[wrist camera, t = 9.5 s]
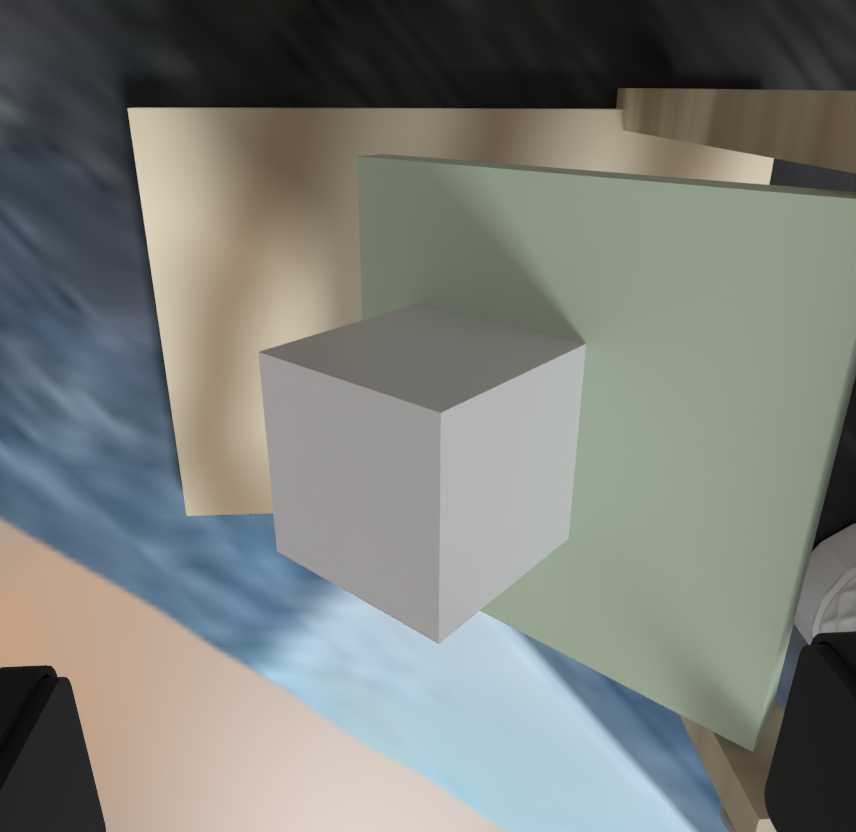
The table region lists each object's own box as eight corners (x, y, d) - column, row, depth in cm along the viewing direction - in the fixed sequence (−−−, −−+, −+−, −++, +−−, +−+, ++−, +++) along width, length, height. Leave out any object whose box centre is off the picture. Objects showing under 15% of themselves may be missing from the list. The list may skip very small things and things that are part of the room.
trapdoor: (1538, 221, 10) (1747, 288, 7) (1183, 820, 15) (1201, 1036, 12) (454, 147, 22) (327, 159, 18) (448, 504, 27) (347, 567, 23)
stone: (586, 343, 16) (440, 412, 13) (568, 538, 18) (438, 643, 15) (414, 304, 19) (258, 352, 16) (415, 475, 21) (276, 551, 18)
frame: (775, 61, 24) (1322, 30, 10) (696, 517, 31) (958, 869, 17) (129, 56, 23) (-248, 13, 9) (197, 533, 29) (42, 927, 16)
